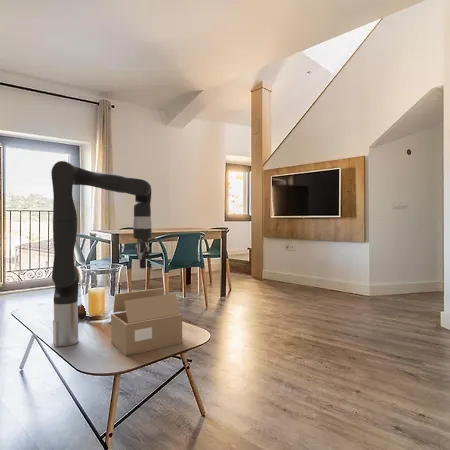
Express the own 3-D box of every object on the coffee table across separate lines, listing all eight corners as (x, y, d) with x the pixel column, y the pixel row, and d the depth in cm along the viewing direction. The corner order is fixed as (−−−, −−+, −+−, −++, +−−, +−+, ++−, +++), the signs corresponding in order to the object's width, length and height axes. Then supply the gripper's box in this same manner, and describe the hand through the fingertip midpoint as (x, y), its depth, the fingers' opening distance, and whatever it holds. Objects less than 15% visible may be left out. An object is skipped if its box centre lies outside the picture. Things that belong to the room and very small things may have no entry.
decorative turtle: (67, 319, 184) (67, 303, 184) (95, 315, 194) (95, 300, 195) (74, 321, 177) (75, 305, 177) (103, 317, 187) (104, 302, 188)
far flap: (161, 305, 162) (161, 304, 162) (164, 288, 159) (164, 287, 160) (113, 312, 149) (113, 312, 150) (115, 294, 147) (115, 293, 147)
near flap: (128, 323, 135) (128, 322, 135) (123, 300, 138) (124, 300, 138) (179, 313, 147) (180, 313, 147) (174, 293, 151) (175, 293, 150)
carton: (126, 356, 134) (125, 324, 134) (111, 342, 149) (110, 314, 149) (182, 343, 148) (182, 314, 148) (163, 331, 163) (163, 305, 163)
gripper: (128, 227, 154) (128, 267, 154) (139, 228, 143) (140, 271, 143) (144, 226, 158) (145, 265, 158) (157, 227, 147) (157, 269, 147)
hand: (142, 268), depth 151 cm, fingers closed
